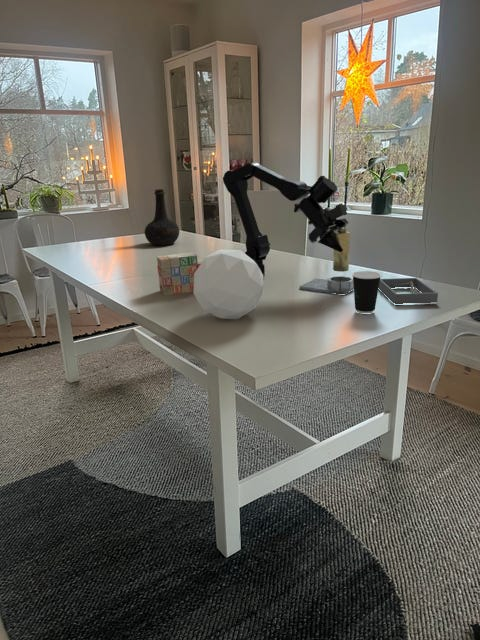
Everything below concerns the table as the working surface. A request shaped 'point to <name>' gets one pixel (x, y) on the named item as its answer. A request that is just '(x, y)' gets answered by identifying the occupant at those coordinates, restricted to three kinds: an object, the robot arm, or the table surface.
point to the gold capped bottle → (342, 257)
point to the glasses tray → (424, 297)
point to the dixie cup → (365, 290)
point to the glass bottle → (161, 224)
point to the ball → (228, 284)
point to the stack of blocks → (177, 272)
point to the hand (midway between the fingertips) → (345, 250)
